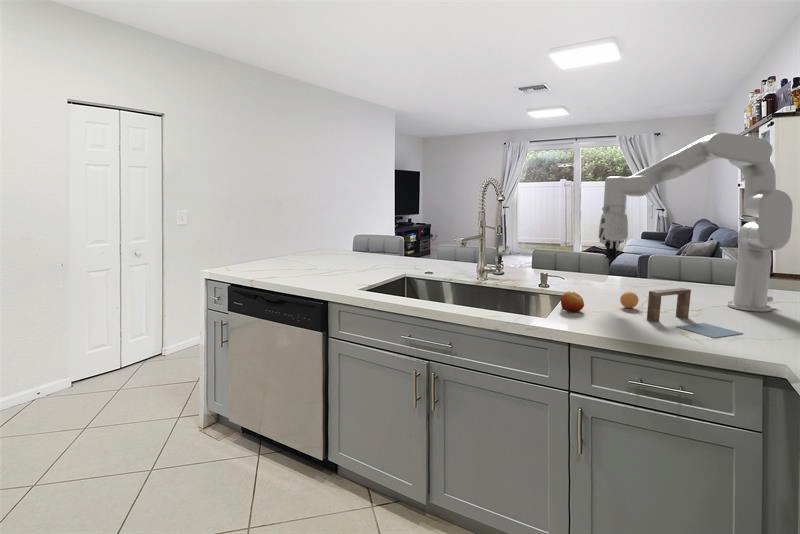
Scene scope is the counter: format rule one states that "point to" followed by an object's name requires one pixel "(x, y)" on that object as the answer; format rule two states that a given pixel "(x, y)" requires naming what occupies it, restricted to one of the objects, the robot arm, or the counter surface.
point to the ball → (629, 299)
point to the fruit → (572, 302)
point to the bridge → (655, 296)
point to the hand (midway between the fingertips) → (610, 258)
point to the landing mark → (709, 330)
